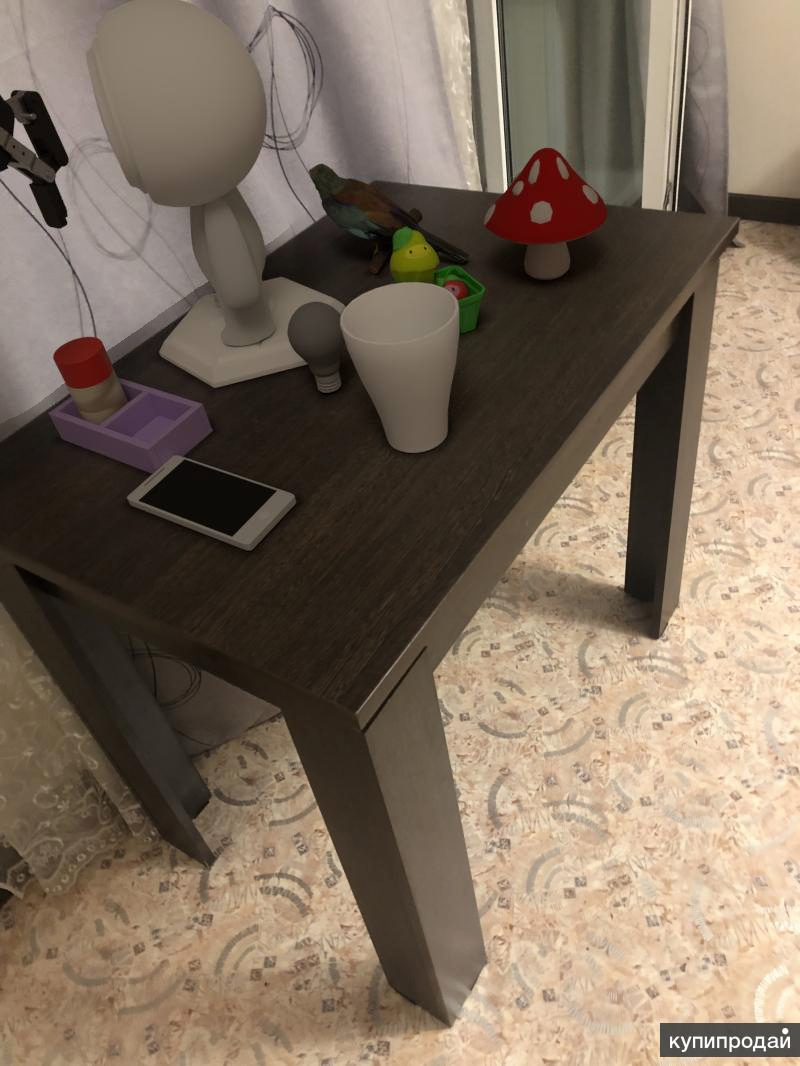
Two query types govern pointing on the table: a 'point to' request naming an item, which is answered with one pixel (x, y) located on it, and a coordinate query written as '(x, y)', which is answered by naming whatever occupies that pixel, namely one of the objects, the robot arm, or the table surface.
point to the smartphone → (212, 501)
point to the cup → (406, 358)
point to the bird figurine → (371, 215)
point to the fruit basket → (435, 274)
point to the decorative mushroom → (546, 213)
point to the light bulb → (318, 342)
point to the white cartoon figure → (199, 175)
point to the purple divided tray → (138, 427)
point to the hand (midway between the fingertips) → (19, 247)
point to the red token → (83, 362)
